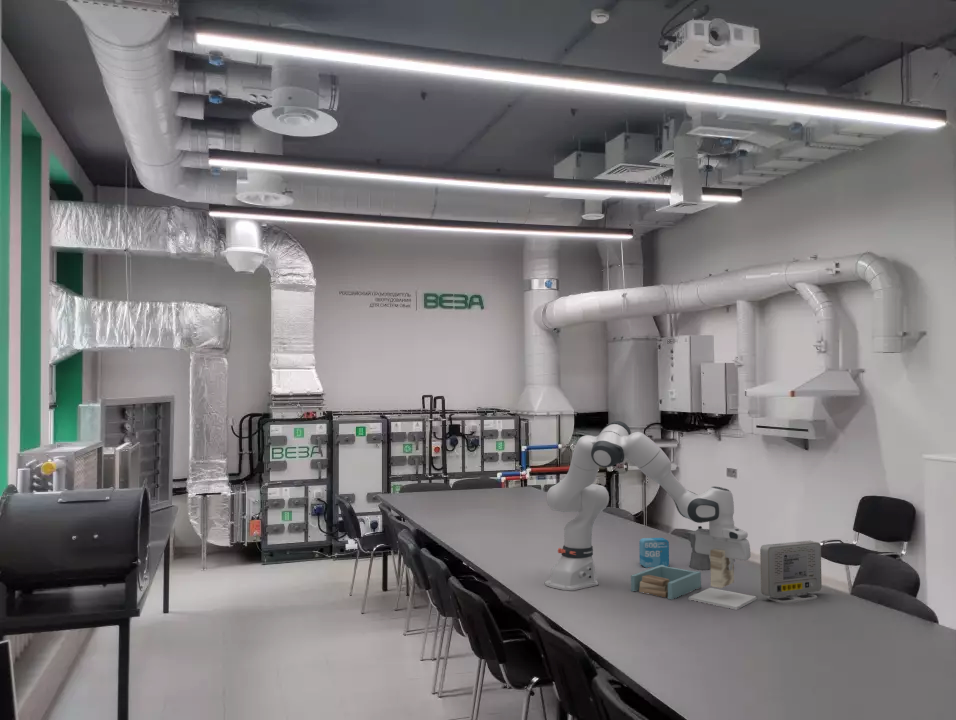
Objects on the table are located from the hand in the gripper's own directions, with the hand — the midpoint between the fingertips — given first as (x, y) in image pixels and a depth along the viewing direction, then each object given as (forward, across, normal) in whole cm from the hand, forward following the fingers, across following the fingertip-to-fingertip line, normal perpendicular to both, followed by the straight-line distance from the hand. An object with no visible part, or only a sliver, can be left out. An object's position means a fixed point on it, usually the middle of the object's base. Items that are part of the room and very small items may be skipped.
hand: (722, 568), depth 265 cm
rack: (+11, -22, -1) cm, 25 cm away
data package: (+11, -44, +29) cm, 54 cm away
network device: (+12, +18, +20) cm, 29 cm away
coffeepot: (+11, -27, +41) cm, 51 cm away
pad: (+11, 0, 0) cm, 11 cm away
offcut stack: (+11, -22, -10) cm, 27 cm away
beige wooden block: (+6, 0, 0) cm, 6 cm away
